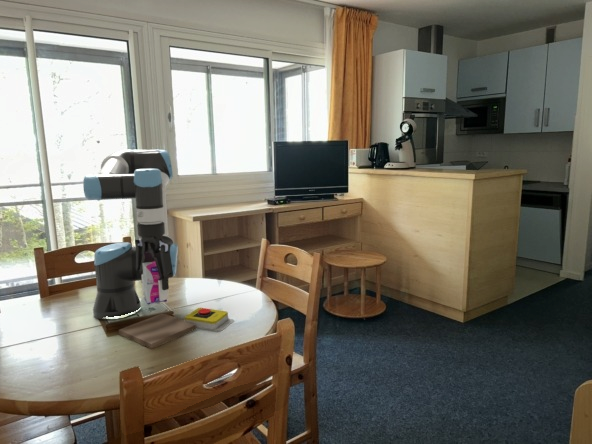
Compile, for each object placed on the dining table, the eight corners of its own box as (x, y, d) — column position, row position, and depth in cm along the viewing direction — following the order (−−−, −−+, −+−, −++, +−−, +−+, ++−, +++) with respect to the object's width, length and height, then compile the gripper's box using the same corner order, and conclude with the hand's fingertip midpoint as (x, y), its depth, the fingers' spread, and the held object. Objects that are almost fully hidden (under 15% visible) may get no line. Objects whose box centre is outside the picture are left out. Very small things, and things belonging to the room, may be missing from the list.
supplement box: (147, 305, 126) (144, 267, 124) (144, 299, 131) (141, 262, 129) (167, 301, 128) (165, 264, 126) (163, 295, 134) (161, 260, 132)
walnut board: (119, 334, 130) (118, 329, 129) (163, 317, 142) (163, 313, 142) (151, 348, 120) (151, 343, 120) (195, 329, 133) (195, 324, 133)
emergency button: (195, 303, 145) (234, 308, 139) (195, 315, 145) (235, 321, 140) (178, 313, 136) (220, 319, 131) (179, 326, 137) (220, 333, 132)
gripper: (119, 220, 128) (124, 293, 132) (161, 227, 117) (166, 308, 121) (141, 217, 134) (146, 287, 138) (183, 223, 122) (187, 300, 126)
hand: (155, 296), depth 129 cm, fingers closed on supplement box, 7 cm apart
